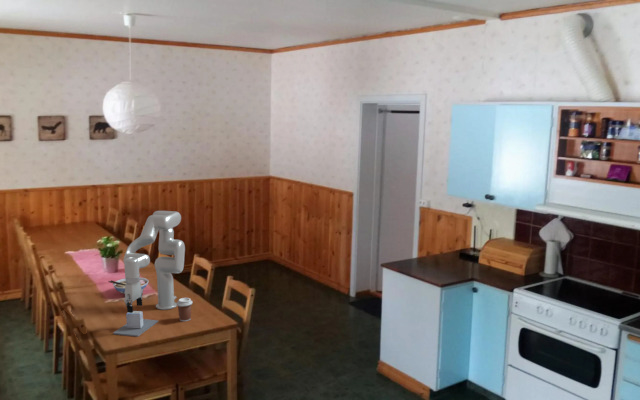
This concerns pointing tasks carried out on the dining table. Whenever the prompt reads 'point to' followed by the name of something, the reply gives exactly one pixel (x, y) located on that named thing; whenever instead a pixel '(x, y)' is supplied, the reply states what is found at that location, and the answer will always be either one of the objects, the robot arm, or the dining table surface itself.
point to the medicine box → (134, 319)
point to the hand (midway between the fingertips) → (134, 308)
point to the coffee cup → (184, 309)
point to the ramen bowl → (121, 283)
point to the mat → (135, 331)
